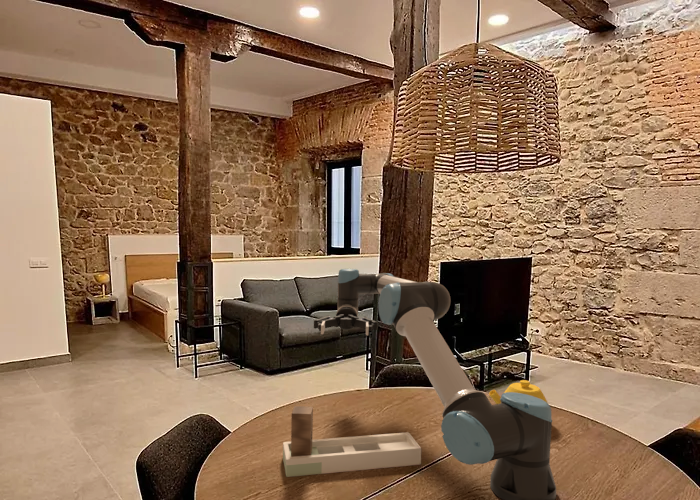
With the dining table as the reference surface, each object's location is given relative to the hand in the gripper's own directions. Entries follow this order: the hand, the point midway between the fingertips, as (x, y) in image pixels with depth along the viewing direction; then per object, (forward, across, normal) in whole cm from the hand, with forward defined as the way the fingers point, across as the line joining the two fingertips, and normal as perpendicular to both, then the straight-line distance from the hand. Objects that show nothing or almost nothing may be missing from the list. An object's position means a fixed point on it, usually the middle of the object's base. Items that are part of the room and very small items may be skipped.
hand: (344, 330), depth 147 cm
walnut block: (+20, +10, -29) cm, 37 cm away
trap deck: (+17, -3, -32) cm, 36 cm away
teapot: (-13, -57, -32) cm, 67 cm away
